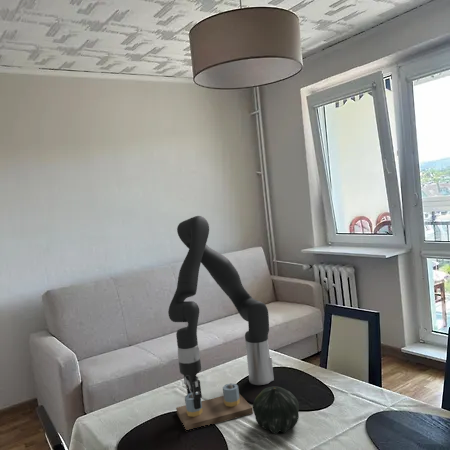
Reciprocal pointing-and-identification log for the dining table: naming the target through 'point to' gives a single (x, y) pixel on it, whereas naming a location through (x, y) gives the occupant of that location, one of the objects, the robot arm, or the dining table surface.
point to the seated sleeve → (231, 395)
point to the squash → (276, 409)
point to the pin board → (214, 412)
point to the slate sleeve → (192, 406)
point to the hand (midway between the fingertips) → (194, 403)
